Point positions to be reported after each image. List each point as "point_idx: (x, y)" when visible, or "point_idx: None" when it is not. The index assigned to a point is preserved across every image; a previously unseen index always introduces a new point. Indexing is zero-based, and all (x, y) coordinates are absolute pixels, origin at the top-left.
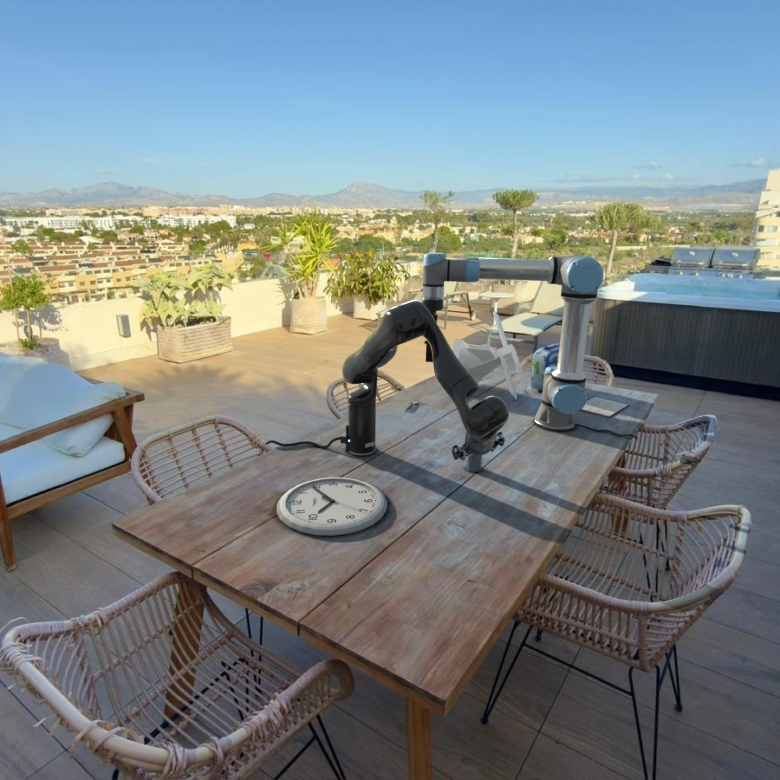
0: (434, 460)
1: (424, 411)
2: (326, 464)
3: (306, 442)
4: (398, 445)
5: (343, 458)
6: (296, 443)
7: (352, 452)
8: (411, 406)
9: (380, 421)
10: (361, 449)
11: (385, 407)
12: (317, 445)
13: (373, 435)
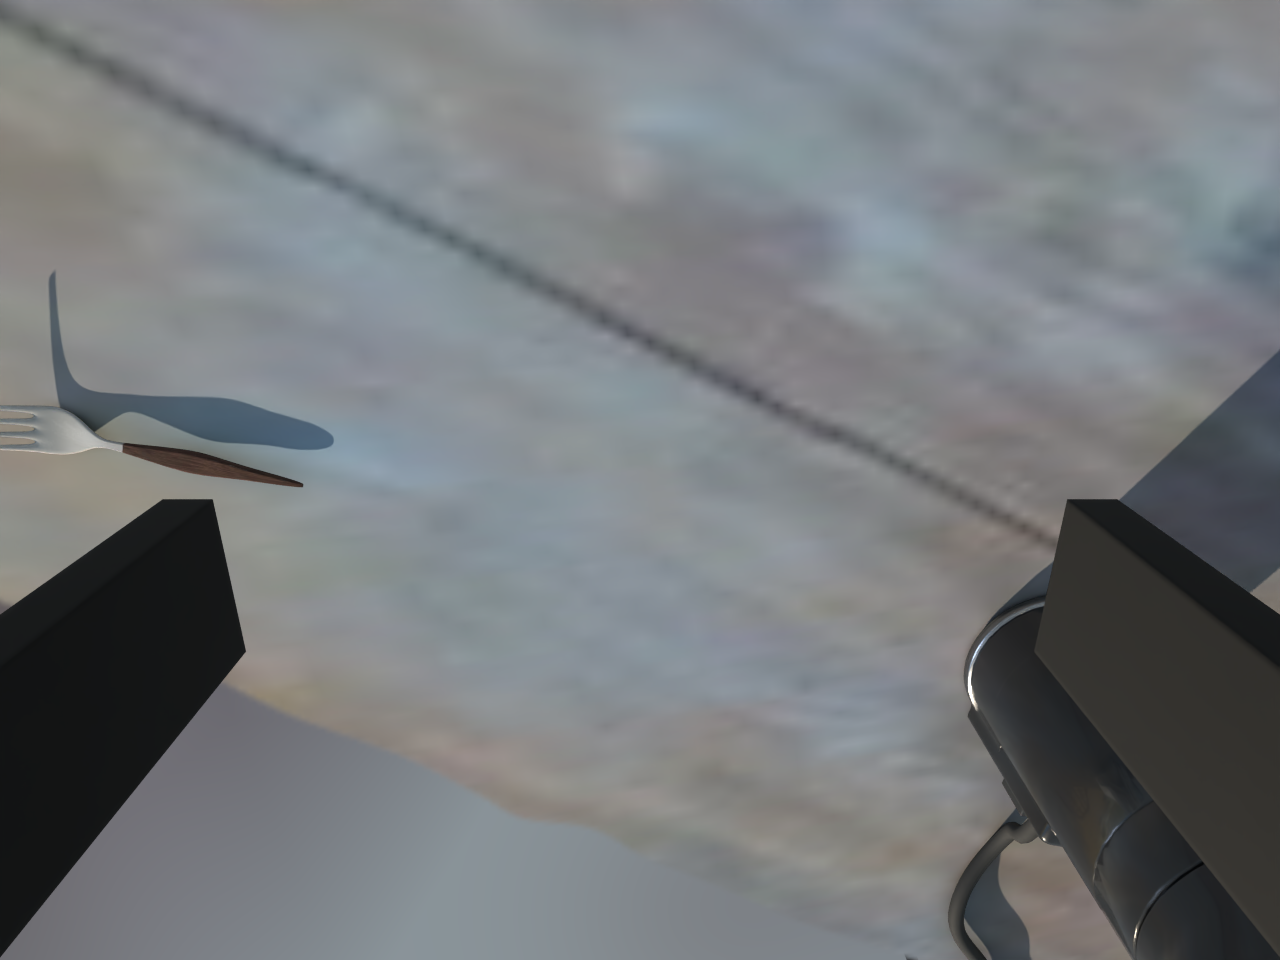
0: (1224, 215)
1: (238, 341)
2: None
3: (963, 921)
4: (960, 473)
5: None
6: (978, 955)
7: None
8: (197, 455)
9: (546, 626)
10: None
11: (253, 629)
12: (984, 869)
13: None
